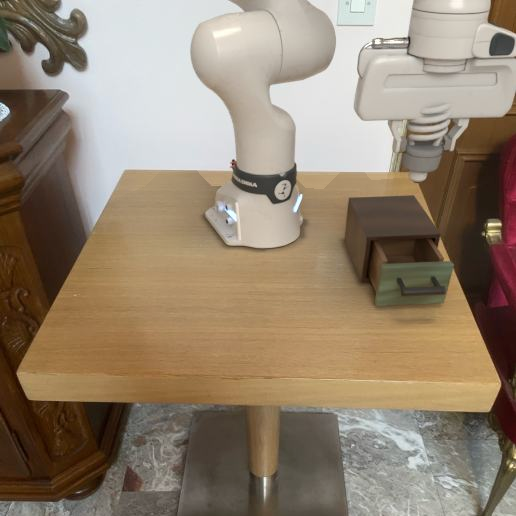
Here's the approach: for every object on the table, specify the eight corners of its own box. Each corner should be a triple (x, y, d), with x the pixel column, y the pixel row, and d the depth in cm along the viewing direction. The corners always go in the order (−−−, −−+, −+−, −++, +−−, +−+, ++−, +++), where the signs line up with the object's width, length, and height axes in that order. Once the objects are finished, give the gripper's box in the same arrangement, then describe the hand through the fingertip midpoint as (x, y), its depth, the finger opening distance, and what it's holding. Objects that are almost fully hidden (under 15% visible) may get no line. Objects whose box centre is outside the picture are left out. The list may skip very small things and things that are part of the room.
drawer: (453, 318, 83) (464, 279, 79) (382, 321, 83) (389, 282, 78) (418, 258, 98) (425, 222, 93) (357, 260, 97) (362, 225, 93)
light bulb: (401, 191, 73) (417, 99, 66) (392, 175, 78) (406, 87, 70) (441, 190, 73) (462, 98, 66) (430, 174, 78) (448, 86, 70)
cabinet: (430, 279, 94) (441, 233, 88) (360, 282, 93) (367, 236, 88) (405, 237, 106) (413, 195, 100) (344, 240, 105) (348, 197, 100)
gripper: (365, 43, 61) (352, 161, 70) (537, 40, 62) (503, 157, 71) (354, 33, 66) (344, 145, 74) (514, 30, 67) (484, 141, 75)
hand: (422, 150), depth 73 cm, fingers closed on light bulb, 5 cm apart
